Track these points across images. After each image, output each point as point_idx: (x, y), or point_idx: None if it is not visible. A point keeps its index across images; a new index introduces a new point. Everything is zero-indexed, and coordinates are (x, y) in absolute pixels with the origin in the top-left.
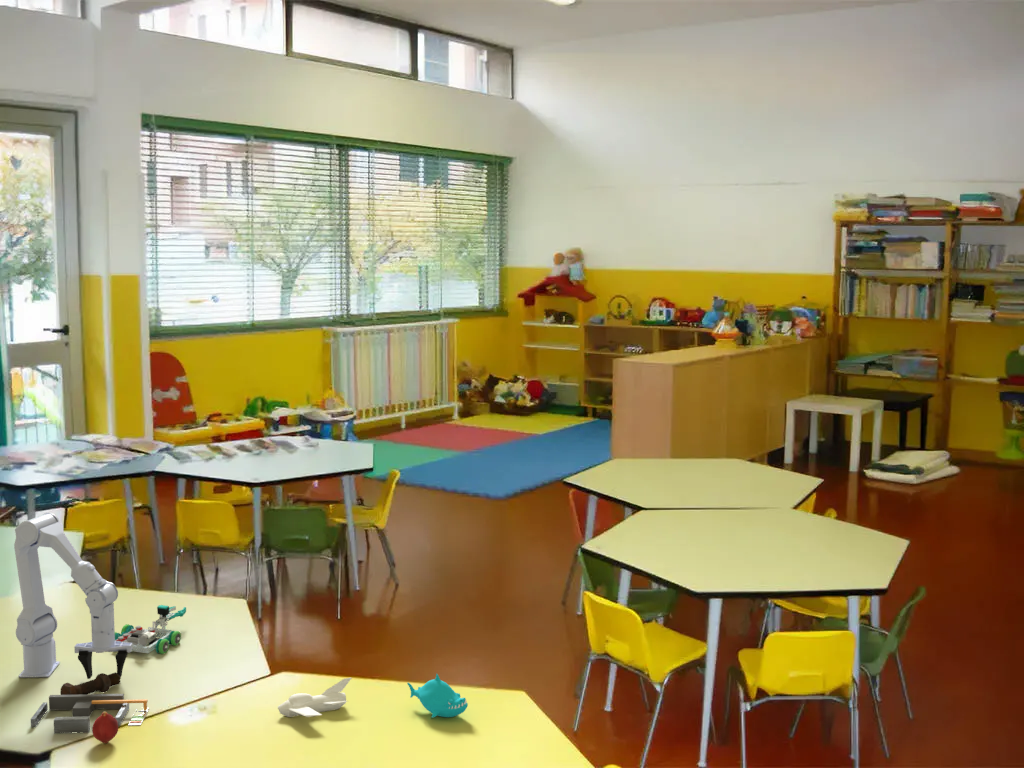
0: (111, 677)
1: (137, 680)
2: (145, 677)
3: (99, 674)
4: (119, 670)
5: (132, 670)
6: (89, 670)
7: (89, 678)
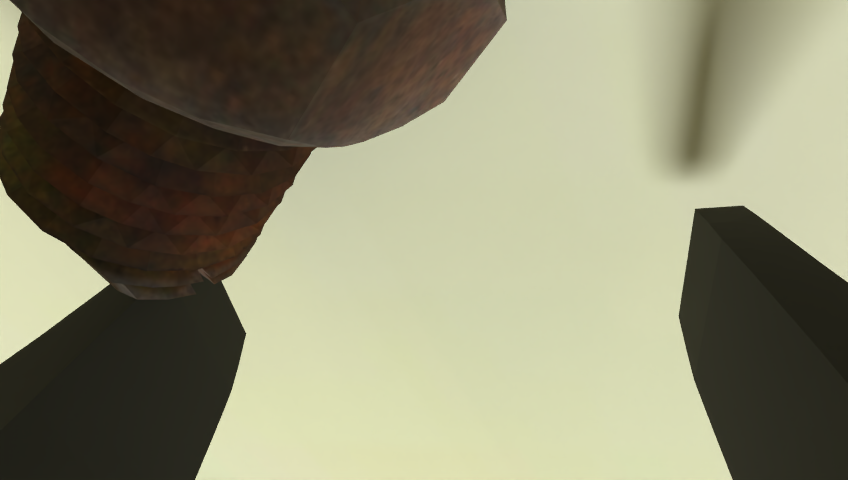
0: (34, 58)
1: (42, 278)
2: (20, 342)
3: (304, 17)
4: (45, 340)
5: (274, 460)
6: (762, 347)
7: (706, 211)
